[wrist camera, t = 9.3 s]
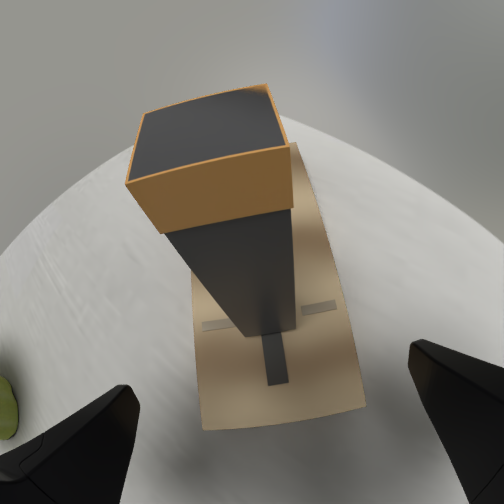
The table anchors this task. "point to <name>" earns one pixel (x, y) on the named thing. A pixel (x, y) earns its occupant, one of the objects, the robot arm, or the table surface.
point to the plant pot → (7, 410)
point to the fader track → (281, 340)
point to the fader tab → (224, 200)
